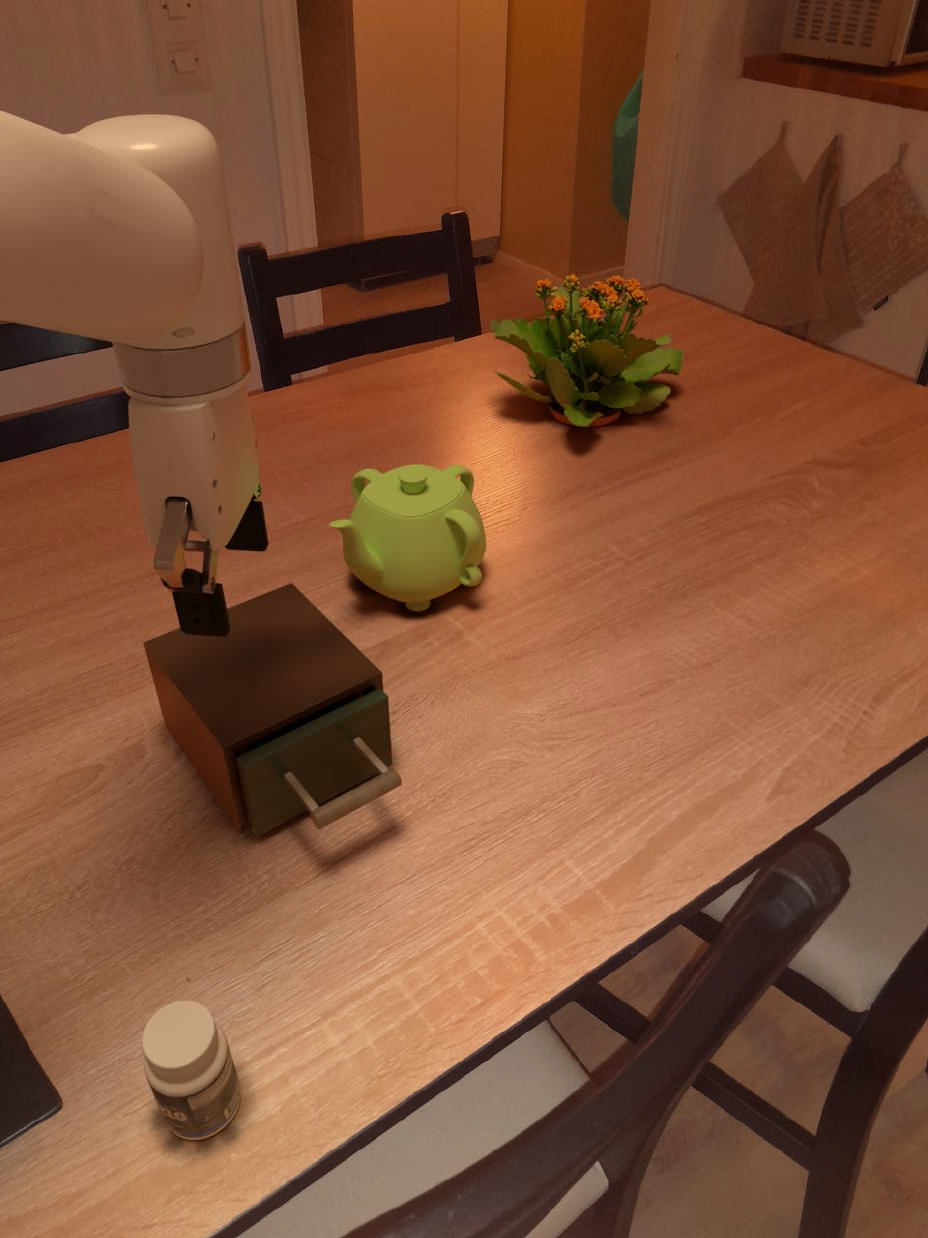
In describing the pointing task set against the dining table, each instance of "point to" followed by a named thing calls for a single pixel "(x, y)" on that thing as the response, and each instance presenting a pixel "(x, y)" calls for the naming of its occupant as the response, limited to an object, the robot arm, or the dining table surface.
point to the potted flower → (591, 353)
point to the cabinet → (252, 683)
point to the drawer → (319, 763)
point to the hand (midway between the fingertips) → (227, 588)
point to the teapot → (414, 532)
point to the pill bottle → (190, 1070)
